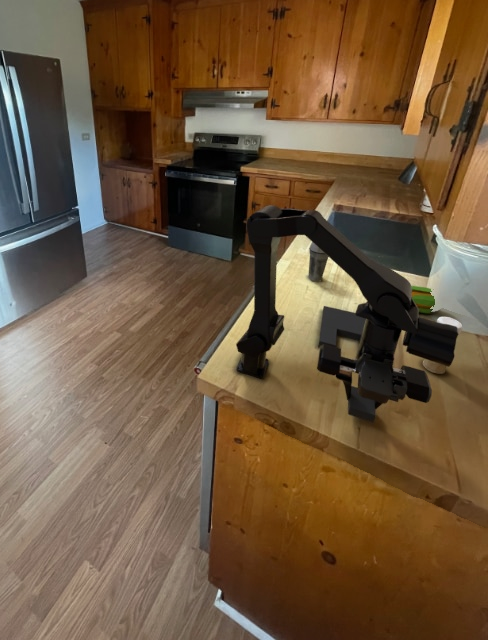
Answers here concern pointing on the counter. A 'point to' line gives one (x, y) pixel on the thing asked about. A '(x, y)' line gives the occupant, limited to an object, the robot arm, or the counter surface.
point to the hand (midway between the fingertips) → (361, 403)
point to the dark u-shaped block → (339, 326)
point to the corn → (423, 299)
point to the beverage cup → (316, 263)
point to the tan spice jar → (435, 366)
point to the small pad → (361, 406)
